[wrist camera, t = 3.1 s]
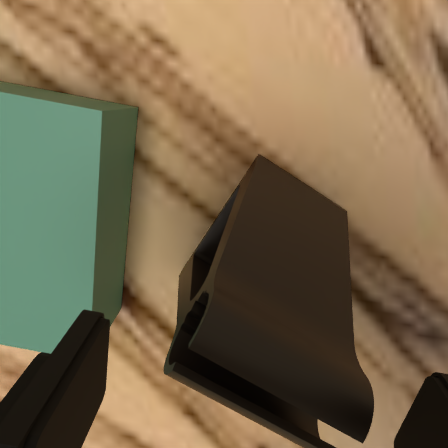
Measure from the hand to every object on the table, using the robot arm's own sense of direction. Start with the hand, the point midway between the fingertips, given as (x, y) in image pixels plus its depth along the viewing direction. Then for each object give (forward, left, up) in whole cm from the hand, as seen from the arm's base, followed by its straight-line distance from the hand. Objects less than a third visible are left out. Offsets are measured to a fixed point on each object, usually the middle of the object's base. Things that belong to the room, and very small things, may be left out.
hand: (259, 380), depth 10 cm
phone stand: (0, +1, -12) cm, 12 cm away
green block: (+14, +1, -12) cm, 18 cm away
